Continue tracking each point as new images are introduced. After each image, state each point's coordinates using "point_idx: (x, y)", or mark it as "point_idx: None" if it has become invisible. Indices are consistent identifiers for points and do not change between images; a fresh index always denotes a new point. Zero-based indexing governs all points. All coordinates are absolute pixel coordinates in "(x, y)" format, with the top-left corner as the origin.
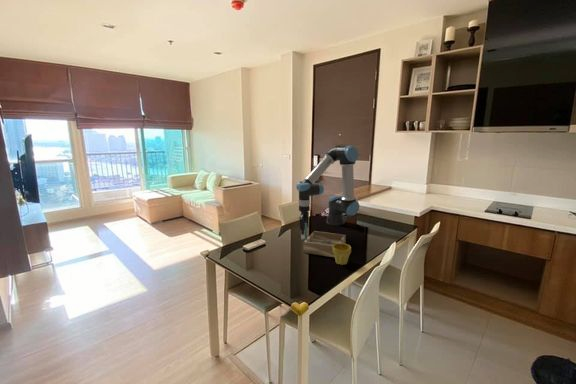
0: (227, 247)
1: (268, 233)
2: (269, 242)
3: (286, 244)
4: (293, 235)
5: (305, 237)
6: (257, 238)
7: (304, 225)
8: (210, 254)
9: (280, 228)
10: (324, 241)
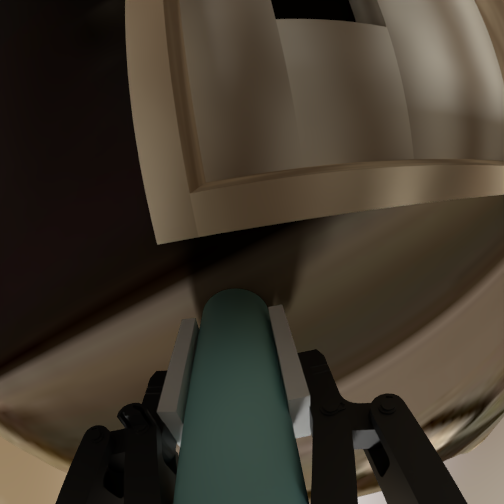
0: (449, 455)
1: None
2: None
3: (409, 364)
4: None
5: (259, 312)
6: None
7: (344, 477)
8: (486, 435)
9: None
10: (270, 14)
